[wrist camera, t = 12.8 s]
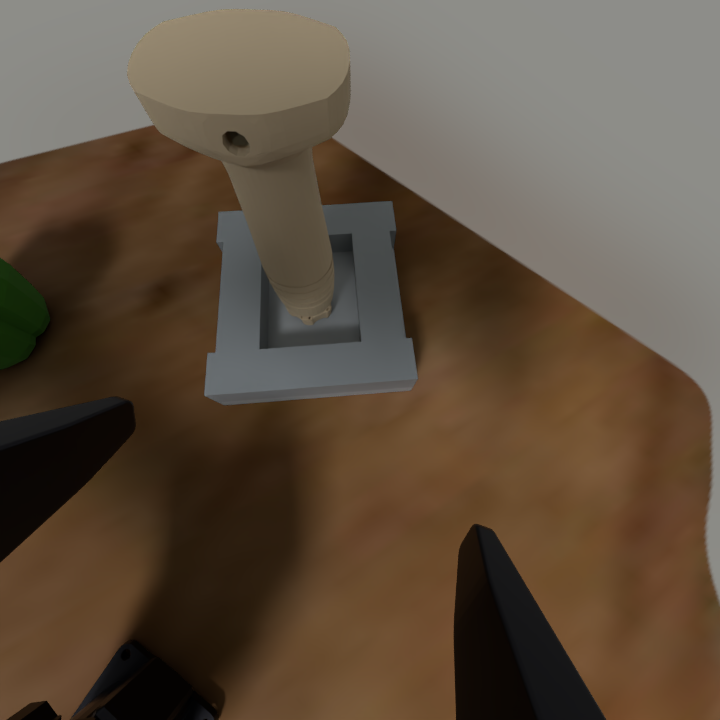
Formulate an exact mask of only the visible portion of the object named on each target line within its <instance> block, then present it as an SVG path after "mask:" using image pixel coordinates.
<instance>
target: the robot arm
mask: <svg viewBox="0 0 720 720" xmlns="http://www.w3.org/2000/svg"><path fill="white" fill-rule="evenodd" d="M135 427H136V422H135V413H134V406H133V403H132V402H131V401H129V400H126V399H124V398H121V397H109V398H105V399H100V400H96V401H91V402H87V403H82V404H78V405H73V406H69V407H64V408H60V409H55V410H50V411H46V412H41V413H37V414H32V415H28V416H23V417H19V418H14V419H10V420H5V421H1V422H0V562H1V561H3V560H4V559H5V558H6V557H7V556H8V555H9V554H10V553H11V552H12V551H13V550H15V549H16V548H17V547H18V546H19V545H20V544H21V543H22V542H23V541H24V540H25V539H27V538H28V537H29V536H30V535H31V534H32V533H33V532H34V531H35V530H36V529H38V528H39V527H40V526H41V525H42V524H43V523H44V522H45V521H46V520H47V519H48V518H50V517H51V516H52V515H53V514H54V513H55V512H56V511H57V510H58V509H59V508H60V507H62V506H63V505H64V504H65V503H66V502H67V501H68V500H69V499H70V498H71V497H72V496H74V495H75V494H76V493H77V492H78V491H79V490H80V489H81V488H82V487H83V486H84V485H85V484H86V483H87V482H88V481H89V480H90V479H91V478H92V477H93V476H94V475H95V474H96V473H97V472H98V471H99V470H100V469H101V467H102V466H103V465H104V464H105V463H106V462H107V461H108V460H109V459H110V458H111V457H112V456H113V455H114V453H115V452H116V451H117V450H118V449H119V448H120V447H121V446H122V445H123V444H124V443H125V442H126V440H127V439H128V438H129V437H130V436H131V435H132V434H133V432H134V430H135ZM127 649H129V650H130V652H131V655H130V657H129V656H127V654H126V650H127ZM454 665H455V698H456V720H606V718H605V717H604V715H603V713H602V712H601V710H600V708H599V707H598V705H597V703H596V702H595V700H594V698H593V697H592V695H591V693H590V692H589V690H588V688H587V687H586V685H585V683H584V681H583V680H582V678H581V676H580V675H579V673H578V671H577V670H576V668H575V666H574V665H573V663H572V661H571V660H570V658H569V656H568V655H567V653H566V651H565V650H564V648H563V646H562V645H561V643H560V641H559V640H558V638H557V636H556V635H555V633H554V631H553V630H552V628H551V626H550V624H549V623H548V621H547V619H546V618H545V616H544V614H543V613H542V611H541V609H540V608H539V606H538V604H537V603H536V601H535V599H534V598H533V596H532V594H531V593H530V591H529V589H528V588H527V586H526V584H525V583H524V581H523V579H522V578H521V576H520V574H519V573H518V571H517V569H516V567H515V566H514V564H513V562H512V561H511V559H510V557H509V556H508V554H507V552H506V551H505V549H504V547H503V546H502V544H501V542H500V541H499V539H498V537H497V536H496V534H495V532H494V531H493V530H492V529H490V528H487V527H485V526H482V525H479V524H474V525H473V526H472V527H471V528H470V530H469V532H468V533H467V535H466V537H465V538H464V540H463V542H462V543H461V546H460V549H459V555H458V569H457V583H456V598H455V612H454ZM203 719H208V720H218V714H217V711H216V710H215V709H214V708H213V707H212V706H211V705H210V704H209V703H207V702H206V701H205V700H204V699H203V698H202V697H201V696H199V695H198V694H197V693H196V692H195V691H194V690H193V689H192V686H191V685H190V684H189V683H188V682H187V681H185V680H184V679H183V678H182V677H181V676H180V675H179V674H177V673H176V672H175V671H174V670H173V669H172V668H170V667H169V666H168V665H167V664H166V663H165V662H164V661H162V660H161V659H160V658H159V657H155V656H154V655H152V654H151V653H150V652H149V651H148V650H147V649H146V648H144V647H143V646H142V645H141V644H140V643H139V642H138V641H136V640H130V641H128V642H126V643H125V644H124V645H122V646H121V647H120V648H119V650H118V651H117V652H116V654H115V655H114V657H113V658H112V660H111V661H110V663H109V664H108V666H107V667H106V668H105V670H104V671H103V673H102V674H101V676H100V677H99V679H98V680H97V681H96V683H95V684H94V686H93V687H92V689H91V690H90V692H89V693H88V695H87V696H86V697H85V699H84V700H83V702H82V703H81V705H80V706H79V708H78V709H77V710H76V712H75V713H74V715H73V716H72V718H71V719H70V720H203ZM7 720H61V715H59V716H58V715H57V714H56V713H55V711H54V710H53V709H52V707H51V706H50V705H49V703H48V702H47V701H42V702H35V703H30V704H28V705H27V706H26V707H24V708H23V709H21V710H20V711H19V712H17V713H16V714H14V715H13V716H11V717H10V718H9V719H7Z"/></svg>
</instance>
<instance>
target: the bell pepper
mask: <svg viewBox="0 0 720 720" xmlns="http://www.w3.org/2000/svg"><path fill="white" fill-rule="evenodd" d="M49 322H50V316H49V313H48V309H47V306H46V303H45V300H44V297H43V296H42V295H41V294H40V293H39V292H38V291H37V290H36V289H35V288H34V287H33V286H32V285H31V284H30V283H29V282H28V281H27V280H26V279H25V278H24V277H23V276H22V275H21V274H20V273H18V272H17V271H16V270H15V269H14V268H13V267H12V266H11V265H10V264H8V263H7V262H5V261H4V260H3V259H1V258H0V370H1V369H5V368H8V367H10V366H12V365H15V364H17V363H19V362H21V361H23V360H25V359H27V358H28V356H29V355H30V353H31V352H32V350H33V349H34V347H35V346H36V337H37V336H39V335H40V334H42V333H43V332H44V331H45V329H46V327H47V325H48V323H49Z"/></svg>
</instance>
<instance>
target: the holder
mask: <svg viewBox="0 0 720 720" xmlns="http://www.w3.org/2000/svg"><path fill="white" fill-rule="evenodd" d="M322 208H323V213H324V217H325V222H326V226H327V231H328V235H329V240H330V244H331V249H332V255H333V262H334V292H333V298H332V301H331V306H332V311H331V314H330V316H329V317H328V318H322V319H319V320H318V321H316V322H315V323H314V325H305V324H304V323H303V321H302V320H301V319H299V318H297V317H295V316H291V315H290V314H289V312H288V311H287V309H286V307H285V305H284V304H283V303H282V301H281V300H280V298H279V297H278V295H277V294H276V292H275V291H274V289H273V287H272V285H271V284H270V282H269V280H268V278H267V275H266V273H265V271H264V269H263V266H262V264H261V261H260V258H259V255H258V252H257V249H256V247H255V244H254V241H253V238H252V235H251V232H250V230H249V227H248V224H247V221H246V219H245V216H244V213H243V211H227V212H219V216H218V228H217V241H216V243H217V244H218V246H219V247H220V249H221V250H222V252H223V255H222V269H221V283H220V297H219V311H218V326H217V340H216V353H208V355H207V367H206V380H205V393H204V396H206V397H208V398H210V399H212V400H214V401H216V402H218V403H220V404H223V405H234V404H247V403H259V402H272V401H284V400H297V399H310V398H322V397H335V396H347V395H360V394H373V393H385V392H398V391H410V390H411V389H412V387H413V386H414V384H415V383H416V381H417V380H418V376H417V370H416V363H415V356H414V349H413V342H412V338H406V334H405V327H404V320H403V312H402V305H401V298H400V291H399V283H398V276H397V269H396V262H395V254H394V243H395V236H396V224H395V218H394V211H393V204H392V201H383V202H367V203H352V204H336V205H322Z"/></svg>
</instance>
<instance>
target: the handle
mask: <svg viewBox="0 0 720 720" xmlns="http://www.w3.org/2000/svg"><path fill="white" fill-rule="evenodd" d="M127 76H128V79H129V82H130V85H131V87H132V88H133V90H134V92H135V94H136V95H137V97H138V99H139V100H140V102H141V104H142V106H143V107H144V109H145V111H146V112H147V114H148V115H149V117H150V119H151V120H152V122H153V124H154V125H155V127H156V128H157V129H158V131H159V132H160V133H162V134H163V135H165V136H167V137H169V138H171V139H172V140H174V141H176V142H178V143H180V144H182V145H184V146H186V147H188V148H190V149H192V150H195V151H197V152H199V153H202V154H204V155H207V156H209V157H212V158H214V159H217V160H220V161H222V163H223V165H224V166H225V168H226V170H227V172H228V174H229V176H230V179H231V182H232V184H233V187H234V190H235V192H236V195H237V198H238V200H239V203H240V205H241V208H242V211H243V213H244V216H245V219H246V221H247V224H248V227H249V230H250V232H251V235H252V238H253V241H254V244H255V247H256V249H257V252H258V255H259V258H260V261H261V264H262V266H263V269H264V271H265V273H266V275H267V278H268V280H269V282H270V284H271V285H272V287H273V289H274V291H275V292H276V294H277V295H278V297H279V298H280V300H281V301H282V303H283V304H284V305H285V307H286V309H287V311H288V312H289V314H290V315H291V316H295V317H297V318H299V319H301V320H302V321H303V323H304V324H305V325H314V323H315V322H316V321H318V320H319V319H322V318H328V317H329V316H330V314H331V311H332V306H331V301H332V298H333V292H334V262H333V255H332V249H331V244H330V240H329V235H328V231H327V226H326V222H325V217H324V213H323V208H322V204H321V199H320V194H319V188H318V183H317V178H316V173H315V168H314V163H313V157H312V147H313V146H315V145H317V144H320V143H322V142H324V141H326V140H328V139H330V138H331V137H332V136H333V135H334V134H335V133H337V131H338V130H339V129H340V128H341V126H342V125H343V123H344V121H345V119H346V117H347V114H348V108H349V103H350V51H349V47H348V43H347V41H346V39H345V38H344V36H343V35H342V33H341V32H340V31H339V30H338V29H337V28H336V27H334V26H331V25H328V24H325V23H322V22H319V21H316V20H313V19H310V18H307V17H303V16H300V15H297V14H293V13H288V12H283V11H273V10H250V9H225V10H216V11H209V12H203V13H199V14H194V15H189V16H185V17H181V18H177V19H172V20H168V21H164V22H162V23H161V24H159V25H157V26H156V27H154V28H153V29H151V30H150V31H149V32H148V33H146V34H145V35H144V36H143V38H142V39H141V40H140V41H139V42H138V44H137V45H136V47H135V49H134V51H133V52H132V54H131V57H130V60H129V63H128V72H127Z"/></svg>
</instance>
